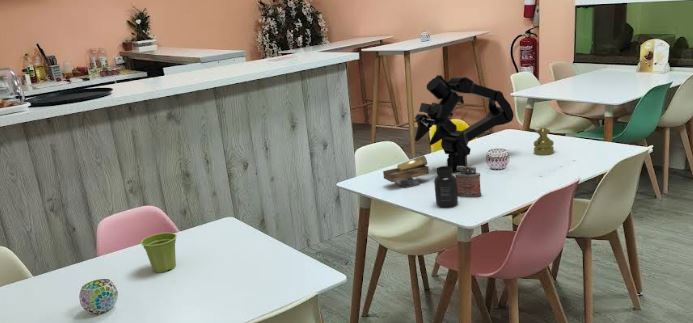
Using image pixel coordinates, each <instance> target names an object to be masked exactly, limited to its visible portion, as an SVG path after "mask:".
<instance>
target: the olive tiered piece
mask: <svg viewBox="0 0 693 323" xmlns="http://www.w3.org/2000/svg"><path fill="white" fill-rule="evenodd" d="M535 132H536V133H537V134H538V135H539V136H538V138H536V140H534V141H533V146H534V147H533V153H534V155H537V156H549V155H552V154H554V153H555V151H554V150H555V149H554V140H552V139H550V137H549V136H548V134H549V133H551V130H550V129H549V128H546V127H541V128H538V129H537V130H536V131H535Z"/></svg>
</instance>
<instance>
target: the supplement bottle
mask: <svg viewBox="0 0 693 323" xmlns="http://www.w3.org/2000/svg"><path fill="white" fill-rule="evenodd" d="M453 173H454V172H452V167H450V166H447V165H444V166H438V167H437V168H436V176H435V177H434V180H433V181H434V182H433V183H434V194H435V205H436V206H437V207H439V208H442V209H443V208H453V207H456V206H458V204H459V198H458V195H457V183H456V177H455V174H453Z"/></svg>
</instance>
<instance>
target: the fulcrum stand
mask: <svg viewBox="0 0 693 323" xmlns="http://www.w3.org/2000/svg"><path fill="white" fill-rule="evenodd" d="M394 185H396V186H399V187H401V188H403V189H410V188H413V187H418V186H420V185H421V183H420V182H418V181H416V180H414V178H409V179H405V180H400V181H396V182H394Z"/></svg>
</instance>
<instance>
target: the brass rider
mask: <svg viewBox="0 0 693 323" xmlns="http://www.w3.org/2000/svg"><path fill="white" fill-rule="evenodd" d="M427 165H428V160H427V157H426V155H421V156H418V157H415V158H412V159H410V160H407V161H405V162H402V163H400V164H399V163H398V164H397V166H396V168H398V171H399V173H400V172H405V171H408V170H414V169H417V168H419V167H422V166H427Z"/></svg>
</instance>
